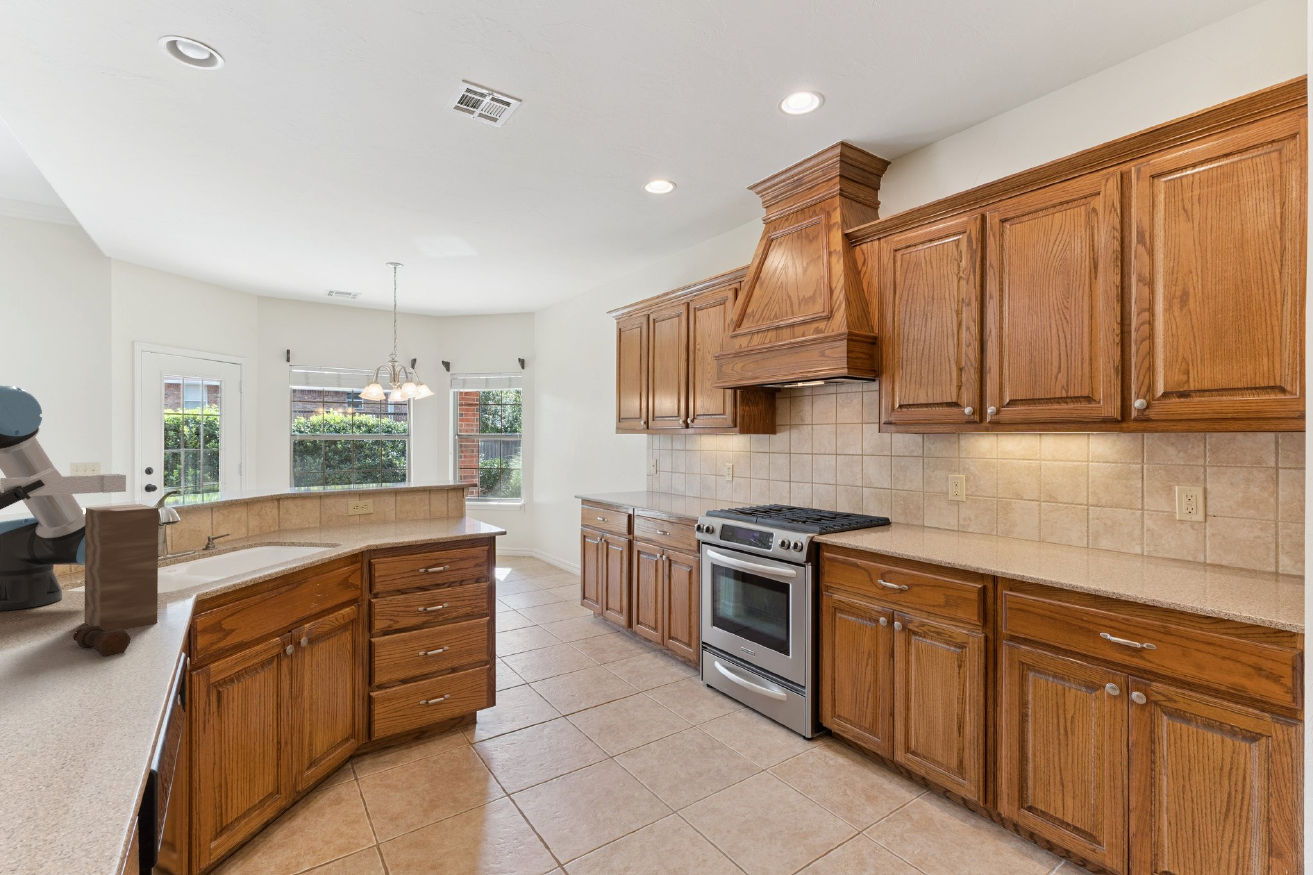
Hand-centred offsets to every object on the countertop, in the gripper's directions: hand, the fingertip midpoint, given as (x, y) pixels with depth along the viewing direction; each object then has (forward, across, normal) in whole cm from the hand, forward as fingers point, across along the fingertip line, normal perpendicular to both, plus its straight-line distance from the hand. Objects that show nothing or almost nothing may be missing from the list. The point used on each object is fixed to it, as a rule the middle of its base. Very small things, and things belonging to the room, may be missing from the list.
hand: (57, 473), depth 139 cm
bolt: (-16, +19, -34) cm, 42 cm away
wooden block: (-8, 0, -38) cm, 39 cm away
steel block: (-1, 0, -5) cm, 5 cm away
